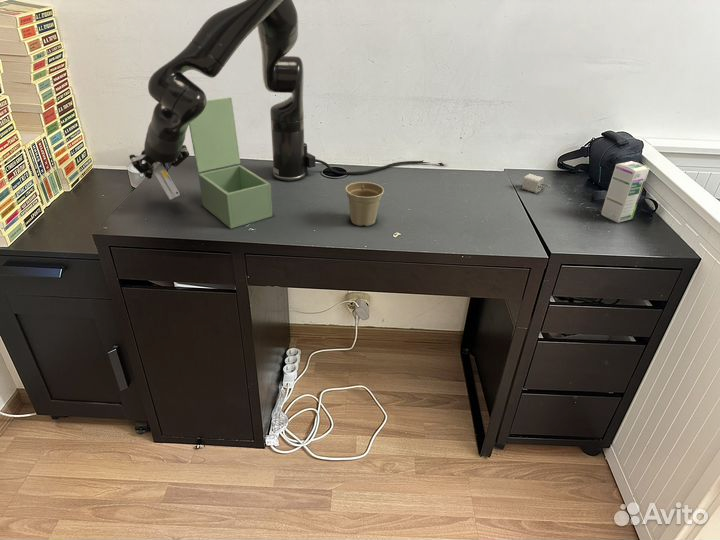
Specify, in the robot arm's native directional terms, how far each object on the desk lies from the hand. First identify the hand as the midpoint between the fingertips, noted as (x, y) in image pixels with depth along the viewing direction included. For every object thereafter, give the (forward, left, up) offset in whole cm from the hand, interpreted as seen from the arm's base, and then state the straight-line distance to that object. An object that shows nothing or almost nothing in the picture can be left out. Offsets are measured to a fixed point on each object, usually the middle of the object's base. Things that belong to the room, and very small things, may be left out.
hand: (155, 173), depth 123 cm
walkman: (-3, +3, -6) cm, 7 cm away
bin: (-15, +12, -9) cm, 21 cm away
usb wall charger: (-92, +49, -10) cm, 105 cm away
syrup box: (-95, +72, -10) cm, 120 cm away
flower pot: (-38, +35, -10) cm, 53 cm away
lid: (-15, +4, +8) cm, 17 cm away
